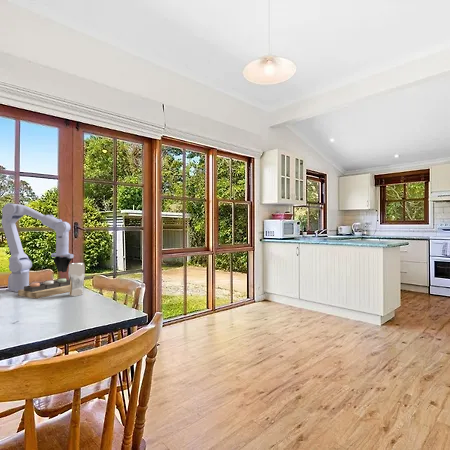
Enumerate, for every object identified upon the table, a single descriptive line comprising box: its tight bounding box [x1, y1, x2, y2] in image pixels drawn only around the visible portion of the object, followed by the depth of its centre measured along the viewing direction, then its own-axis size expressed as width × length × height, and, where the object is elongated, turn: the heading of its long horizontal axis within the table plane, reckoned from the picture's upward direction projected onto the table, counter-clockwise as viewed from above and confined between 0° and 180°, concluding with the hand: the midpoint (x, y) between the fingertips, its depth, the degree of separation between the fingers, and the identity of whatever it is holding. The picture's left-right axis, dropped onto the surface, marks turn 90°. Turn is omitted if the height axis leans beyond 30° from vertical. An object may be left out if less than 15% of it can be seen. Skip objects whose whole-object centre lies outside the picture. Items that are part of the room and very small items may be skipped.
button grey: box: [43, 280, 54, 285], centre depth 152 cm, size 4×4×2 cm
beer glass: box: [68, 262, 86, 297], centre depth 147 cm, size 7×7×15 cm
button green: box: [57, 278, 67, 282], centre depth 158 cm, size 4×4×2 cm
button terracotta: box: [29, 282, 41, 287], centre depth 145 cm, size 4×4×2 cm
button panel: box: [17, 279, 70, 299], centre depth 151 cm, size 14×21×4 cm, turn 154°
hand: (62, 271), depth 158 cm, fingers open, 3 cm apart
